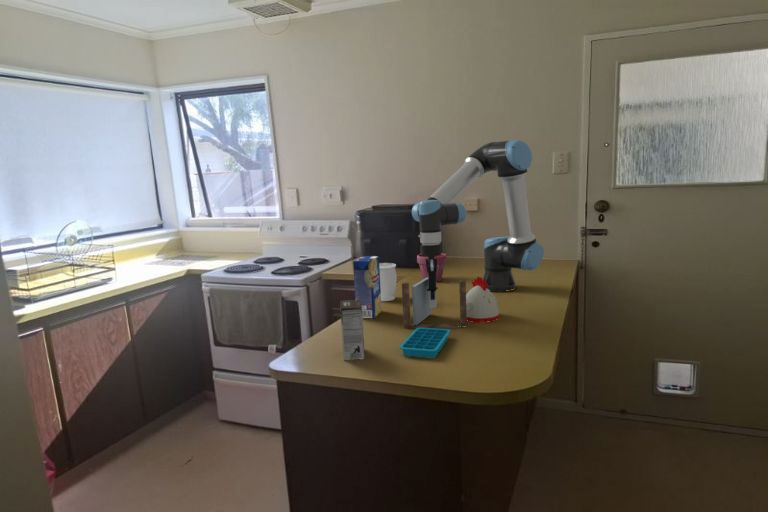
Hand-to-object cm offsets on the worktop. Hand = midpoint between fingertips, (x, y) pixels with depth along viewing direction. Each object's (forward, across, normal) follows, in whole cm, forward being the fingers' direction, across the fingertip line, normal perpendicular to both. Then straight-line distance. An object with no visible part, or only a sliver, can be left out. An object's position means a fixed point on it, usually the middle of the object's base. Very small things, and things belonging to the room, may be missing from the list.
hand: (432, 307), depth 185 cm
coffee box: (+5, +34, -25) cm, 43 cm away
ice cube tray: (+5, +28, -3) cm, 29 cm away
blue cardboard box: (+5, -9, -24) cm, 26 cm away
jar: (+4, -32, -19) cm, 37 cm away
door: (+4, 0, -5) cm, 6 cm away
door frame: (+5, +8, 0) cm, 9 cm away
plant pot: (+4, -66, +2) cm, 66 cm away
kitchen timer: (+5, -2, +17) cm, 18 cm away
